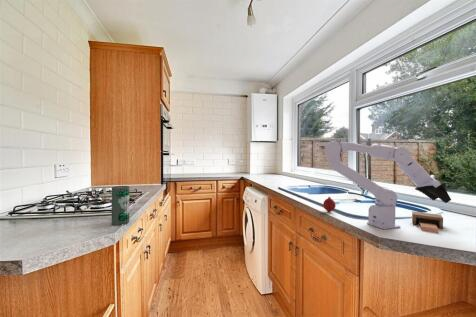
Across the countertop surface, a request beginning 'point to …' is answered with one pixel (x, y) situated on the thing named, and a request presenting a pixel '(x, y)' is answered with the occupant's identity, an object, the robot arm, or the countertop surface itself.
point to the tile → (429, 227)
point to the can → (120, 205)
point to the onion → (329, 204)
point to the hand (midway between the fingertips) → (441, 200)
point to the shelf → (427, 218)
